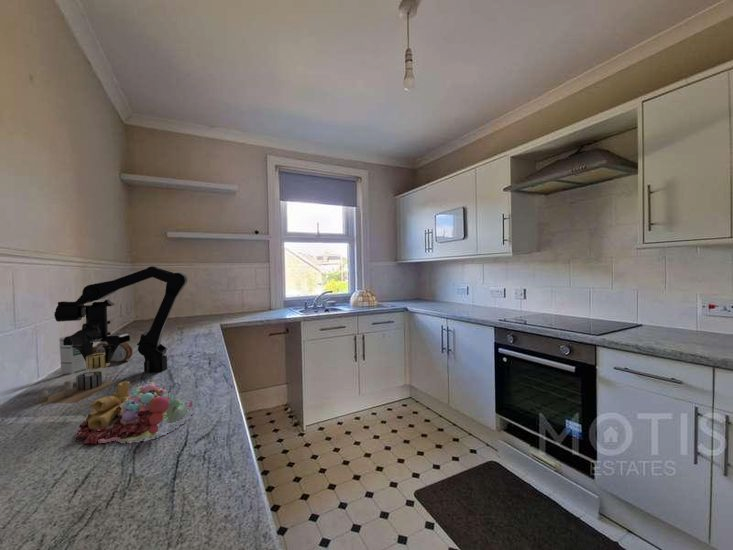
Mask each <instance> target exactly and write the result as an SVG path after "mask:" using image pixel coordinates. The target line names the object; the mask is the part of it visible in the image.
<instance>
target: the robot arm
mask: <svg viewBox="0 0 733 550" xmlns="http://www.w3.org/2000/svg"><path fill="white" fill-rule="evenodd" d="M151 278H153V279H156V280H159V281H161V282H164V283H166V285H165V292H164V293H165V294H164V295H163V299H162V301H161V303H160V305H159V307H158V310H157V312H156V315H155V317H154V319H153V322H152V324H151V327H150V329H149V330H148V331H144V332H143V333H142V334H141V335H140V337H139V341H138V342H137V344H136V346H137V351H138V353H139V354H140V355H142V356H143V357H144V362H143V372H144V373H148V374H157V373H163V372H165V371H166V370H168V356H167V355H166V352H167V350H168V348H167V347H166V346H164V345H163V344H162V343H161V342H162V336H163V330H164V328H165V325H166V323H167V320H168V318H169V317H170V314H171V311H172V309H173V307H174V304H175V302H176V300H177V297H178V296H179V294H180V293H181V292H182V290H183V289H184V287H185V286H186V285H187V283H188V277H187V275H186V274H184V272H173V271H168V270H166V269H163V268H159V267H158V266H155V265H154V266H148V267H147V268H145V269H142V270H138V271H136V272H133V273H130V274H128V275H125V276H121V277H119V278H116V279H113V280H109V281H108V280H107V281H102V282H97V283H93V284H88V285H86V286H84V287H83V289H82V293H81V295H80V296H79V297H78V298H77V299H76V300H75V301H65V300H64V301H62V300H61V301H58V302H57V306H56V308H55V312H54V319H55V321H56V322H57V323H58V322H59V323H60V322H73V321H81V320H82V318H85V323H82V325H81V329H79V330H78V331H76V332H75V333H73V334H71V335H67V336H64V337H65V339H64V340H63V345H73V346H71V347H74V348H76V349H78V350H79V351H80V352H81V354H82V356H83V358H84V359H85V361H86V356H88V355H92V349H93V347H94V343H95V342H96V343H104V342H107V344H106V345H103V346H102V347H103V348H104V349H105V360H106V363H109V362H110V360H111V358H112V356H113V354H114V352H115V351H116V349H117V347H118V346H119V344H121V343H124V342H126V343H128V342H129V341H131V337H130V334H129V333H128V332H126V333H125V332H124V333H123V332H122V333H121V332H120V333H114V334H111V331H109V328H108V325H110V324H111V320H108V307H112V306H114V305H115V302H114V303H113V302H112V301H111V300H110V299H108V298H107V297H109V296H111V295H113V294H115V293H116V292H117V291H120V290H121V289H124V288H127V287H129V286H133V285H135V284H138V283H141V282H144V281H146V280H149V279H151ZM106 298H107V299H106ZM103 299H105V300H104V301H99V300H103ZM89 303H92V304H89ZM110 363H111V362H110Z"/></svg>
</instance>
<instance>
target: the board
mask: <svg viewBox="0 0 733 550" xmlns="http://www.w3.org/2000/svg"><path fill="white" fill-rule="evenodd" d="M63 383H64V389H63V390H61V391H59V392H57V393H53V394H52V395H50V396H48V390H47V389H44V390H40V391H38V400H37V401H35V402H33V404H34V405H36V404H60V403H61V404H63V403H64V404H65V403H66V404H67V403H79V402H80V401H82V400H84V399H87V398H88V397H90V396H92V395H95V394H96V393H99V392H100V391H103V390H104V389H107V388H109V387H111V386H113V385H114V384H116V383H118V381H102V385H101V386H100V387H97V388H94V389H90V390H77V384H74V383H73V380H66V381H64V382H63Z"/></svg>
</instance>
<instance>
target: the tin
mask: <svg viewBox="0 0 733 550" xmlns="http://www.w3.org/2000/svg"><path fill="white" fill-rule="evenodd" d="M106 344H107V342H100V343H99V344H98V345H97V346H96V347H97V352H98V353H105V349H104V348H103V347H102V346H103V345H106ZM132 356H133V348H132V346H131V345H130V344H129V343H128V342H124V343H121V344H119V346H118V347H117V349H116V351H115V352H114V354H113V356H112V358H111V360H110V363H123V362H125V361H128V360H129V359H131V358H132Z"/></svg>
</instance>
